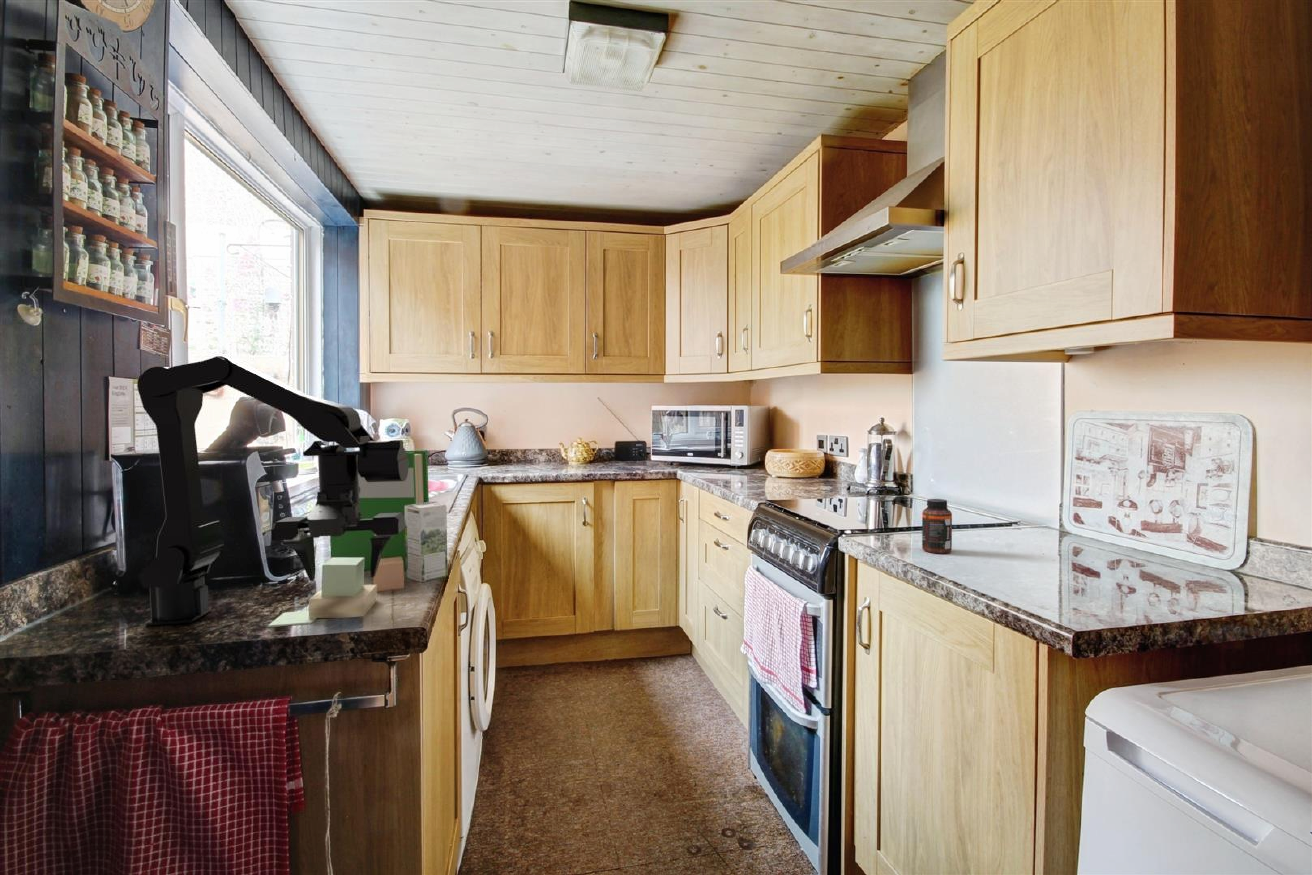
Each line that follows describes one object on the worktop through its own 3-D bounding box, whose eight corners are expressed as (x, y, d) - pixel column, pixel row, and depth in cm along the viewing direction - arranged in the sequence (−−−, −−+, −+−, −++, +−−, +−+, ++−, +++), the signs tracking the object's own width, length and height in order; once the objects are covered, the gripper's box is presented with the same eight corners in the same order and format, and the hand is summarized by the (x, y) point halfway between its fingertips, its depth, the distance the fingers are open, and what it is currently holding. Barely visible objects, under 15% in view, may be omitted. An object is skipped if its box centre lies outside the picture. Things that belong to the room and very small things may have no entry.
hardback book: (430, 561, 135) (427, 450, 134) (416, 570, 128) (412, 452, 127) (350, 562, 136) (345, 451, 135) (331, 571, 129) (326, 454, 127)
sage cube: (321, 596, 100) (322, 564, 100) (331, 587, 105) (332, 557, 104) (355, 595, 101) (356, 564, 100) (363, 587, 106) (364, 557, 105)
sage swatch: (268, 627, 95) (268, 625, 95) (284, 615, 101) (283, 612, 101) (311, 624, 96) (311, 622, 96) (324, 612, 102) (324, 609, 102)
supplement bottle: (956, 554, 135) (957, 501, 134) (928, 554, 135) (929, 502, 134) (944, 547, 141) (944, 497, 140) (917, 548, 141) (917, 498, 140)
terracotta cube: (374, 593, 113) (373, 565, 113) (373, 586, 117) (372, 559, 117) (404, 589, 115) (403, 562, 115) (402, 582, 120) (401, 556, 119)
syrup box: (432, 572, 126) (430, 500, 126) (449, 577, 123) (446, 503, 122) (405, 578, 122) (403, 504, 121) (422, 583, 118) (419, 507, 117)
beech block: (308, 617, 98) (309, 598, 98) (325, 602, 106) (326, 584, 106) (363, 617, 100) (364, 598, 99) (376, 602, 107) (376, 584, 107)
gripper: (253, 491, 92) (258, 597, 93) (388, 487, 95) (392, 588, 96) (283, 483, 103) (288, 577, 104) (404, 478, 106) (407, 570, 107)
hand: (343, 578), depth 102 cm, fingers open, 9 cm apart
